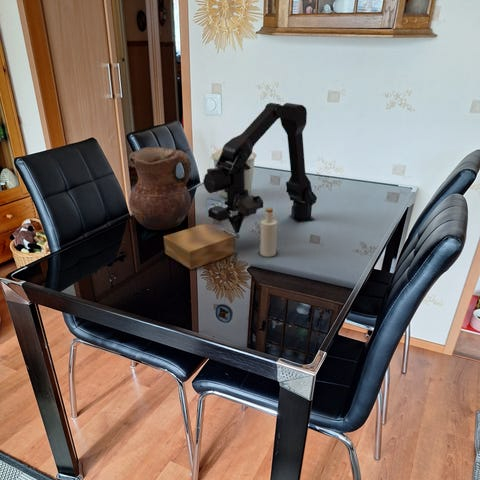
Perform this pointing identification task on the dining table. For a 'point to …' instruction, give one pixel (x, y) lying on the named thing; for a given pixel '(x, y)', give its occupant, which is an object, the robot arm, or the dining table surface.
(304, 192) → the robot arm
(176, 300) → the dining table surface
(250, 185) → the canister
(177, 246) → the wooden box
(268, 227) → the bottle
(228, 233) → the drawer
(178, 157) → the jug
